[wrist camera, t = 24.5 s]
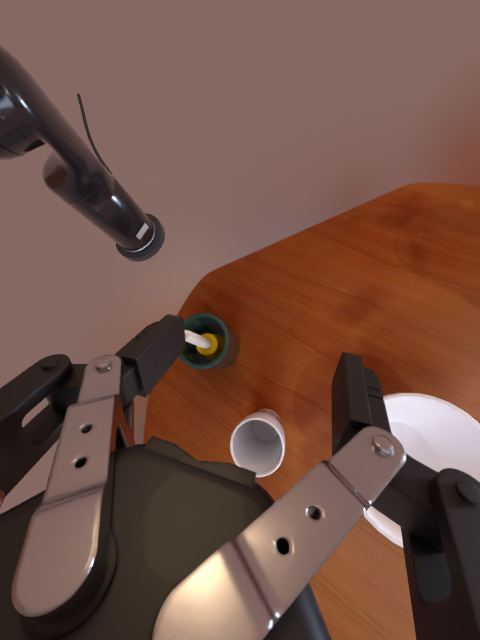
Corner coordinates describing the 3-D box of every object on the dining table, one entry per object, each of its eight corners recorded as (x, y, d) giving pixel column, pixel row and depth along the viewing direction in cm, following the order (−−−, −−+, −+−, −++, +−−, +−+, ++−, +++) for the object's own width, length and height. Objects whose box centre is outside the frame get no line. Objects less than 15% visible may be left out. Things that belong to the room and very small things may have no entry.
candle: (198, 343, 48) (158, 328, 34) (220, 329, 48) (190, 308, 33) (210, 366, 47) (174, 361, 32) (233, 352, 47) (207, 340, 32)
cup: (187, 339, 50) (166, 332, 41) (224, 315, 50) (211, 302, 41) (208, 379, 47) (190, 379, 39) (247, 354, 47) (239, 348, 38)
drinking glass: (276, 452, 42) (271, 490, 28) (241, 432, 44) (220, 459, 29) (291, 414, 43) (294, 433, 29) (257, 397, 45) (243, 406, 30)
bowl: (488, 430, 37) (534, 442, 30) (441, 556, 35) (479, 599, 28) (362, 369, 43) (376, 367, 36) (313, 474, 40) (319, 494, 33)
